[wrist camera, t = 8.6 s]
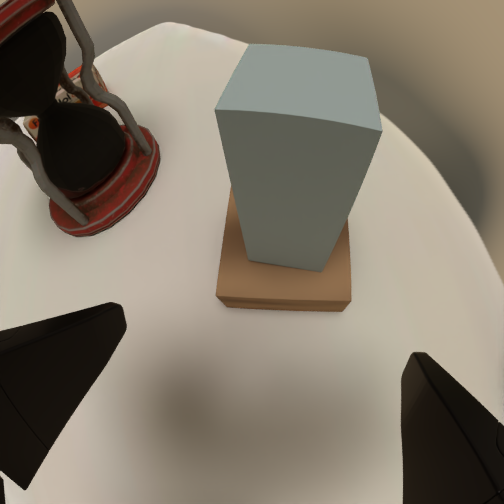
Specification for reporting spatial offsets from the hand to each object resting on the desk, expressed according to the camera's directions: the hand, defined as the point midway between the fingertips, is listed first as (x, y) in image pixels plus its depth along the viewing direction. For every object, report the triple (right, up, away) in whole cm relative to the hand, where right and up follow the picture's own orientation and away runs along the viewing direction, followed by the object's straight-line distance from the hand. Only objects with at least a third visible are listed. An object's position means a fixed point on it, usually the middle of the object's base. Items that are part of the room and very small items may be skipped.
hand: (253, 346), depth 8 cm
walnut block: (+3, +2, +16) cm, 16 cm away
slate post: (+3, +4, +12) cm, 13 cm away
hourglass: (-18, +12, +23) cm, 31 cm away
